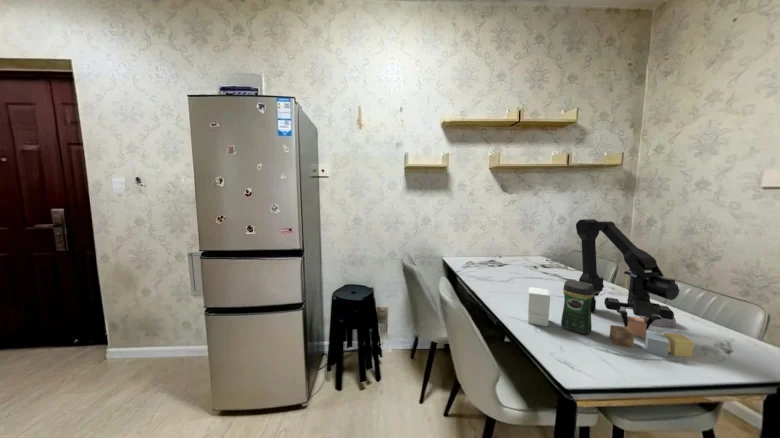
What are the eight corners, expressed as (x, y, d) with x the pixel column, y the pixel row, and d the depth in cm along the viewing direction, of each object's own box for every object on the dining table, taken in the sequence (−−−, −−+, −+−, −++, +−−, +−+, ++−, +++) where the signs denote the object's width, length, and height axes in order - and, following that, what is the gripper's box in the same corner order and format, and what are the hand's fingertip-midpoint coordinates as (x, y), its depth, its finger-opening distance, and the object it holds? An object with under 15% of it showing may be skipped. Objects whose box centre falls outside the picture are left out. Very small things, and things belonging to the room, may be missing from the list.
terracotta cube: (627, 333, 106) (628, 320, 105) (624, 327, 110) (625, 315, 109) (645, 337, 103) (646, 324, 103) (641, 331, 108) (642, 318, 107)
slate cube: (646, 352, 94) (648, 338, 94) (644, 345, 98) (646, 331, 98) (667, 357, 91) (669, 342, 91) (664, 350, 95) (666, 336, 95)
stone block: (649, 330, 112) (679, 327, 110) (647, 318, 112) (677, 315, 110) (630, 317, 124) (657, 315, 122) (628, 306, 123) (655, 304, 121)
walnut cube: (615, 345, 98) (616, 331, 98) (609, 338, 103) (610, 324, 102) (632, 348, 97) (634, 334, 96) (626, 340, 102) (627, 326, 101)
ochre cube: (674, 355, 92) (676, 340, 92) (662, 346, 97) (663, 333, 97) (692, 356, 92) (694, 342, 91) (679, 348, 97) (680, 334, 96)
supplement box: (547, 319, 118) (549, 289, 116) (548, 327, 111) (550, 295, 109) (527, 315, 121) (528, 286, 119) (527, 323, 114) (528, 292, 112)
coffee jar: (593, 329, 109) (597, 282, 107) (587, 337, 103) (592, 287, 101) (564, 320, 116) (567, 276, 114) (558, 327, 110) (561, 281, 108)
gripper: (611, 292, 102) (607, 333, 104) (683, 302, 93) (677, 347, 95) (605, 282, 112) (602, 320, 114) (670, 290, 103) (665, 332, 105)
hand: (634, 329), depth 107 cm, fingers closed on terracotta cube, 5 cm apart
